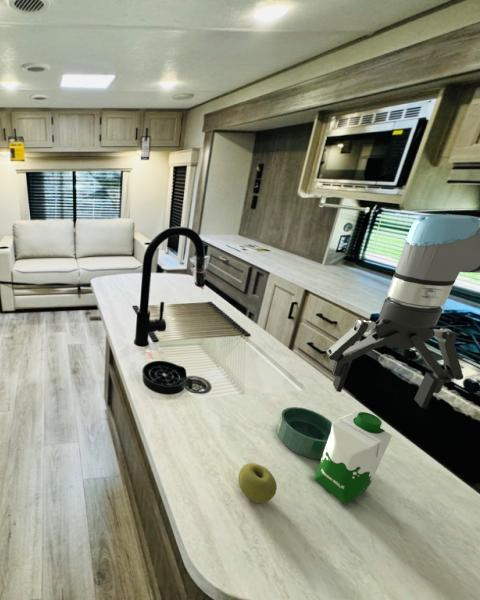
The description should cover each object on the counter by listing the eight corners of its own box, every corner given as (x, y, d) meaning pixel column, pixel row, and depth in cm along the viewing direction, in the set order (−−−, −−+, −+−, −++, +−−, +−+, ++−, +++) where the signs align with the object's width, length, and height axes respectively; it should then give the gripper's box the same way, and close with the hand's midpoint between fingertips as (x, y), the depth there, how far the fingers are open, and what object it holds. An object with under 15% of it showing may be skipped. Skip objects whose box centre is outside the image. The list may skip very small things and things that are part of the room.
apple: (244, 510, 70) (249, 487, 67) (230, 478, 78) (235, 457, 75) (279, 511, 70) (286, 489, 67) (261, 479, 77) (267, 458, 74)
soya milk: (370, 494, 73) (401, 428, 65) (347, 510, 70) (376, 442, 62) (330, 465, 80) (353, 403, 73) (307, 478, 77) (329, 414, 70)
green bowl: (324, 431, 91) (330, 413, 89) (337, 466, 80) (345, 447, 77) (273, 419, 96) (278, 402, 93) (280, 451, 85) (285, 433, 82)
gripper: (336, 300, 59) (309, 392, 67) (529, 319, 49) (472, 424, 57) (325, 288, 65) (302, 373, 73) (494, 302, 56) (447, 399, 63)
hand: (376, 395), depth 65 cm, fingers open, 13 cm apart
